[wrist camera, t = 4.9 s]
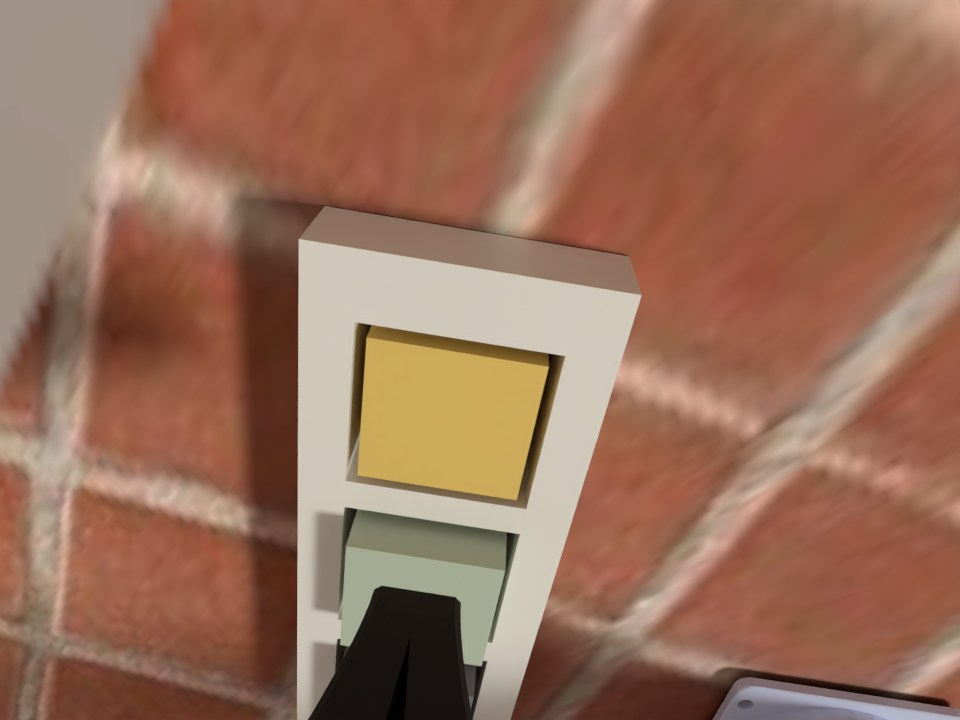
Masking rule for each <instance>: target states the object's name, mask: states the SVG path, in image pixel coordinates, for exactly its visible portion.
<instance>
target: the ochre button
mask: <svg viewBox="0 0 960 720" xmlns="http://www.w3.org/2000/svg"><path fill="white" fill-rule="evenodd" d="M548 369H549V357H548V353H543V352H537V351H530V350H524V349H518V348H512V347H506V346H499V345H493V344H487V343H481V342H475V341H468V340H462V339H456V338H450V337H444V336H438V335H431V334H425V333H419V332H413V331H407V330H400V329H394V328H388V327H382V326H376V325H372V326H371V328H370V331H369V333H368V335H367V338H366V353H365V368H364V383H363V398H362V413H361V428H360V443H359V458H358V473H357V475H358V476H364V477H370V478H377V479H383V480H390V481H396V482H402V483H409V484H415V485H422V486H428V487H434V488H441V489H447V490H454V491H460V492H466V493H473V494H479V495H485V496H492V497H498V498H505V499H511V500H517V497H518V493H519V488H520V484H521V480H522V476H523V472H524V468H525V464H526V460H527V455H528V451H529V447H530V443H531V439H532V435H533V431H534V426H535V422H536V418H537V414H538V410H539V406H540V402H541V398H542V393H543V389H544V385H545V381H546V377H547V373H548Z"/></svg>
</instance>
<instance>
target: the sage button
mask: <svg viewBox="0 0 960 720" xmlns="http://www.w3.org/2000/svg"><path fill="white" fill-rule="evenodd" d="M506 543H507V532H502V531H496V530H490V529H483V528H477V527H470V526H464V525H457V524H451V523H445V522H438V521H432V520H425V519H419V518H412V517H406V516H400V515H393V514H387V513H380V512H374V511H367V510H361V509H357V512H356V515H355V518H354V522H353V525H352V528H351V531H350V535H349V538H348V541H347V544H346V553H345V570H344V587H343V604H342V621H341V638H340V645H344V646H350V645H351V643H352V641H353V639H354V637H355V635H356V633H357V631H358V629H359V626H360V624H361V622H362V620H363V617H364V615H365V613H366V610H367V608H368V606H369V603H370V600H371V597H372V595H373V592H374V589H376V588H378V587H380V586H388V587H394V588H401V589H407V590H413V591H420V592H426V593H433V594H439V595H446V596H452V597H456V598H457V599H458V600H459V601H460V602H461V638H462V650H463V660H464V664H469V665H476V666H482V663H483V659H484V655H485V650H486V646H487V642H488V638H489V634H490V630H491V626H492V622H493V618H494V614H495V610H496V606H497V602H498V598H499V594H500V590H501V586H502V582H503V578H504V574H505V567H506Z"/></svg>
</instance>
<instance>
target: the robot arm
mask: <svg viewBox="0 0 960 720" xmlns="http://www.w3.org/2000/svg"><path fill="white" fill-rule="evenodd" d="M308 720H473V718H472V713H471V707H470V702H469V696H468V690H467V683H466V675H465V668H464V660H463V650H462V638H461V602H460V601H459V600H458V599H457V598H456V597H452V596H446V595H439V594H433V593H426V592H420V591H413V590H407V589H401V588H394V587H388V586H380V587H378V588H376V589H374V592H373V595H372V597H371V600H370V603H369V606H368V608H367V610H366V613H365V615H364V617H363V620H362V622H361V624H360V626H359V629H358V631H357V633H356V635H355V637H354V639H353V641H352V643H351V645H350V647H349V649H348V650H347V652H346V654H345V656H344V658H343V660H342V662H341V664H340V666H339V667H338V669H337V671H336V673H335V674H334V676H333V678H332V679H331V681H330V683H329V685H328V686H327V688H326V690H325V692H324V693H323V695H322V697H321V698H320V700H319V702H318V704H317V705H316V707H315V709H314V710H313V712H312V714H311V715H310V717H309V718H308ZM712 720H960V710H958V709H955V708H951V707H944V706H938V705H931V704H924V703H918V702H911V701H905V700H898V699H892V698H885V697H878V696H872V695H865V694H859V693H852V692H845V691H839V690H832V689H826V688H819V687H813V686H806V685H799V684H793V683H786V682H780V681H773V680H766V679H760V678H753V677H745V678H741V679H739V680H737V681H736V682H735V683H734V684H733V686H732V688H731V689H730V691H729V693H728V694H727V696H726V698H725V699H724V701H723V703H722V704H721V706H720V708H719V709H718V711H717V713H716V714H715V716H714V718H713V719H712Z"/></svg>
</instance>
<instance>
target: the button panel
mask: <svg viewBox="0 0 960 720" xmlns="http://www.w3.org/2000/svg"><path fill="white" fill-rule="evenodd" d="M640 299H641V292H640V289H639V286H638V282H637V279H636V276H635V273H634V270H633V266H632V263H631V260H630V257H629V256H624V255H618V254H612V253H606V252H600V251H594V250H588V249H582V248H576V247H570V246H564V245H558V244H551V243H545V242H539V241H533V240H527V239H521V238H515V237H509V236H503V235H497V234H491V233H485V232H479V231H473V230H467V229H461V228H455V227H449V226H443V225H437V224H431V223H425V222H418V221H412V220H406V219H400V218H394V217H388V216H382V215H376V214H370V213H364V212H358V211H352V210H346V209H340V208H334V207H328V206H324V208H323V209H322V210H321V211H320V213H319V214H318V215H317V217H316V218H315V219H314V220H313V222H312V223H311V224H310V225H309V227H308V228H307V229H306V230H305V232H304V233H303V234H302V235H301V237H300V238H299V292H298V561H297V720H308V718H309V717H310V715H311V714H312V712H313V710H314V709H315V707H316V705H317V704H318V702H319V700H320V698H321V697H322V695H323V693H324V692H325V690H326V688H327V686H328V685H329V683H330V681H331V679H332V678H333V676H334V674H335V673H336V671H337V669H338V667H339V666H340V664H341V662H342V660H343V657H344V653H345V649H346V646H344V645H340V638H341V621H342V604H343V587H344V570H345V553H346V544H347V541H348V538H349V535H350V531H351V528H352V525H353V522H354V518H355V515H356V512H357V509H361V510H367V511H374V512H380V513H387V514H393V515H400V516H406V517H412V518H419V519H425V520H432V521H438V522H445V523H451V524H457V525H464V526H470V527H477V528H483V529H490V530H496V531H502V532H509V534H508V538H507V543H506V567H505V574H504V578H503V582H502V586H501V590H500V594H499V598H498V602H497V606H496V610H495V614H494V618H493V622H492V626H491V630H490V634H489V638H488V642H487V646H486V650H485V655H484V659H483V663H482V666H476V677H475V690H474V699H473V703H472V707H471V713H472V718H473V720H510V719H511V716H512V713H513V710H514V707H515V703H516V700H517V697H518V694H519V690H520V687H521V684H522V681H523V677H524V674H525V671H526V668H527V664H528V661H529V658H530V655H531V651H532V648H533V645H534V642H535V639H536V635H537V632H538V629H539V626H540V622H541V619H542V616H543V613H544V609H545V606H546V603H547V600H548V596H549V593H550V590H551V587H552V583H553V580H554V577H555V574H556V571H557V567H558V564H559V561H560V558H561V554H562V551H563V548H564V545H565V541H566V538H567V535H568V532H569V528H570V525H571V522H572V519H573V515H574V512H575V509H576V506H577V503H578V499H579V496H580V493H581V490H582V486H583V483H584V480H585V477H586V473H587V470H588V467H589V464H590V460H591V457H592V454H593V451H594V447H595V444H596V441H597V438H598V435H599V431H600V428H601V425H602V422H603V418H604V415H605V412H606V409H607V405H608V402H609V399H610V396H611V392H612V389H613V386H614V383H615V379H616V376H617V373H618V370H619V367H620V363H621V360H622V357H623V354H624V350H625V347H626V344H627V341H628V337H629V334H630V331H631V328H632V324H633V321H634V318H635V315H636V312H637V308H638V305H639V302H640ZM370 325H376V326H382V327H388V328H394V329H400V330H407V331H413V332H419V333H425V334H431V335H438V336H444V337H450V338H456V339H462V340H468V341H475V342H481V343H487V344H493V345H499V346H506V347H512V348H518V349H524V350H530V351H537V352H543V353H549V354H552V356H551V360H550V364H549V369H548V373H547V377H546V381H545V385H544V389H543V393H542V398H541V402H540V406H539V410H538V414H537V418H536V422H535V426H534V431H533V435H532V439H531V443H530V447H529V451H528V455H527V460H526V464H525V468H524V472H523V476H522V480H521V484H520V488H519V493H518V497H517V500H511V499H505V498H498V497H492V496H485V495H479V494H473V493H466V492H460V491H454V490H447V489H441V488H434V487H428V486H422V485H415V484H409V483H402V482H396V481H390V480H383V479H377V478H370V477H364V476H358V475H357V473H358V458H359V443H360V428H361V413H362V398H363V383H364V368H365V353H366V338H367V335H368V333H369V330H370Z"/></svg>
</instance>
